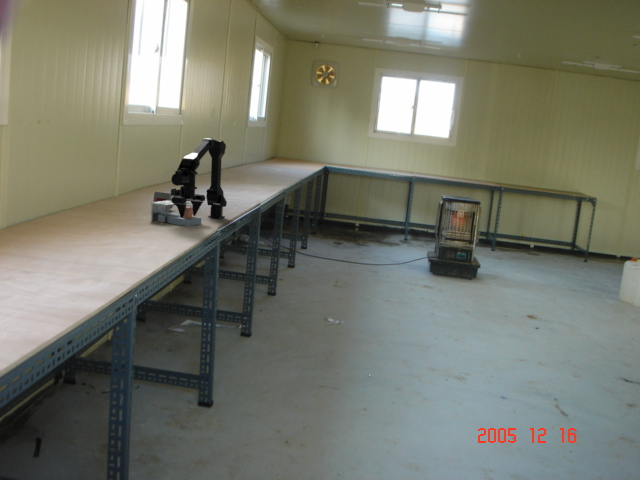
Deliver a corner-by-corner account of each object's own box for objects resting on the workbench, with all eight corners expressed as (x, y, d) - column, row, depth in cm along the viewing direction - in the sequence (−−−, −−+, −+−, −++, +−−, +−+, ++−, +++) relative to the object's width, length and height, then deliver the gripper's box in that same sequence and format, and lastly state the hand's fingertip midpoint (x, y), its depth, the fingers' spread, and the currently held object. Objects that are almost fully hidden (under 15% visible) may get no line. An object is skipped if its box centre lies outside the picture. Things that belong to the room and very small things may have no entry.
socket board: (171, 218, 291) (171, 212, 291) (201, 223, 284) (201, 217, 283) (158, 221, 282) (158, 215, 282) (187, 226, 275) (188, 220, 274)
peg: (187, 222, 284) (187, 206, 282) (193, 224, 282) (194, 207, 280) (181, 223, 280) (182, 207, 278) (188, 225, 278) (189, 208, 277)
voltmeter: (152, 211, 308) (152, 193, 306) (151, 208, 319) (152, 190, 317) (203, 213, 315) (203, 195, 314) (201, 209, 326) (201, 192, 324)
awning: (168, 217, 294) (168, 200, 292) (183, 220, 290) (183, 202, 288) (150, 220, 283) (151, 202, 281) (166, 223, 279) (166, 204, 277)
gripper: (187, 181, 289) (187, 212, 292) (162, 183, 272) (161, 216, 275) (206, 183, 284) (205, 215, 287) (181, 186, 268) (180, 219, 271)
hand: (188, 216), depth 280 cm, fingers open, 9 cm apart
